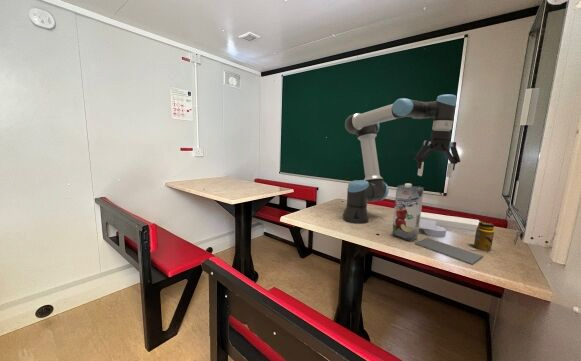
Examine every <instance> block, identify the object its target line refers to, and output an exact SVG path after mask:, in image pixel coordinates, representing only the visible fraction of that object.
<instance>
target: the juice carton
mask: <svg viewBox="0 0 581 361" xmlns="http://www.w3.org/2000/svg"><path fill="white" fill-rule="evenodd" d="M424 189H425V188H424V187H423V186H414V185H413V184H412V183H404V184H399V185H396V192H395V199H394V209H393V210H394V211H393V218H392V219H393V220H392V236H393V237H396V238H399V239H401V240H403V241H406V242H407V241H408V242H411V241H413V240H416V239H417V238H418V235H419V231H420V227H419V225H420V217H421V212H422V208H423V197H424Z"/></svg>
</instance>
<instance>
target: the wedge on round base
mask: <svg viewBox="0 0 581 361" xmlns="http://www.w3.org/2000/svg"><path fill="white" fill-rule="evenodd" d="M419 228H421V229H424V234H426V235H427V236H430V237H433V238H445V237H446V234H447V232H446V229H445V228H443V227H440V226H436V222H435V221H430V220H425V219H420V225H419Z"/></svg>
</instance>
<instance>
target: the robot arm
mask: <svg viewBox="0 0 581 361" xmlns="http://www.w3.org/2000/svg"><path fill="white" fill-rule="evenodd" d="M456 107H457V96H456V95H455V94H440V95H438V96H437V97H436V100H434V101H420V100H414V99H409V98H404V97H403V98H397V99H396V100H395V101H394V102H393V103H392V104H388V105H385V106H381V107H379V108H375V109H372V110H369V111H366V112H363V113H360V112H357V113H353V114H350V115H349V116H348V117H347V118H346V119H345V122H344V128H345V130H346V131H347V132H348V133H350V134H352V135H357V140H359V141H360V148H361V154H362V162H363V170H364V171H363V172H364V176H365V177H364V179H362V180H361V179H360V180H358V179H357V180H350V181H349V183H348V185H347V191H346V192H347V194H346V195H347V196H346V205H345V206H346V207H345V209H344V210H343V213H342V219H343V221H346V222H347V223H348V222H349V223H354V224H367V223H369V221H370V216H369V212H368V209H367V208H368V202H369V203H370V202H380V201H383V200H384V199H386V198H387V197H388V195H389V189H390V188H389V185H388V184H387V183H386V182H385V181H384V178H383V177H382V176H381V175H380V174H381V173H380V167H379V160H378V153H377V146H376V138H377V137H378V136H377V135H378V134H377V133H378V132H379V130H380V123H381V124H382V123H385V122H388V121H392V120H396V119H401V118H402V119H403V118H405V117H408V118H411V119H415V120H423V119H433V121H432V122H433V123H432V128H431V129H432V131H431V134H430V140H423V141H422V144H421V146H420V148H419V150H418V152H416V153H415V154H416V155H415V156H414V157H413V160H415V161H416V162H417V164H416V168H417V176H419V177H422V176H423V171H424V164H425V162H424V161H425V160H426V159H427V157H429V156H431V153H434V152H442V153H444V155H445V156H446V158H447V160H448V161H449V162H448V164H447V167H446V168H447V169H446V175H445V176H446V178H452V175H453V171H454V170H455V168H456V165H457V164H458V163H460V162H461V159H460V156H459V152H458V148H457V142H456V141H451V142H450V140H451V137H452V131H451V130H452V129H453V123H454V116H455V111H456ZM428 146H429V147H428ZM448 147H449V148H448Z"/></svg>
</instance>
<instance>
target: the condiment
mask: <svg viewBox="0 0 581 361" xmlns="http://www.w3.org/2000/svg"><path fill="white" fill-rule="evenodd" d="M494 227H495V225H494V223H491V222H487V221H480V222H479V225H478V227H477V229H476V235H474V241H473V242H474V243H468V242H465V244H466V245H467V247H468V248H469V249H470V250H472V251H473V250H474V251H480V252H483V253H484V252H485V253H490V254H495V252H494V250H492V246H493V241H494V235H495V230H494V229H495V228H494Z"/></svg>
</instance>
